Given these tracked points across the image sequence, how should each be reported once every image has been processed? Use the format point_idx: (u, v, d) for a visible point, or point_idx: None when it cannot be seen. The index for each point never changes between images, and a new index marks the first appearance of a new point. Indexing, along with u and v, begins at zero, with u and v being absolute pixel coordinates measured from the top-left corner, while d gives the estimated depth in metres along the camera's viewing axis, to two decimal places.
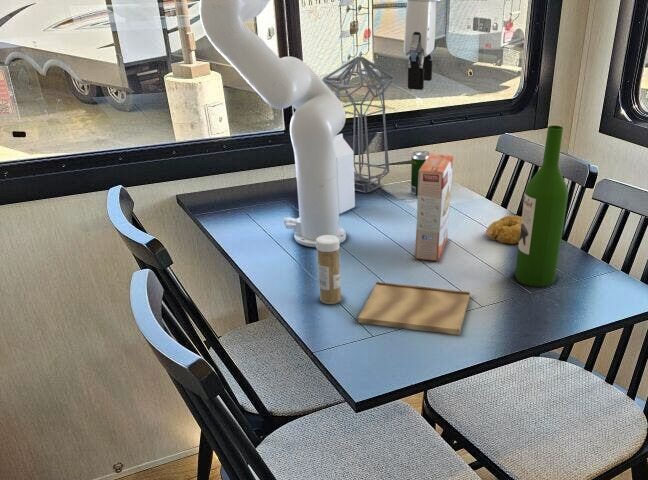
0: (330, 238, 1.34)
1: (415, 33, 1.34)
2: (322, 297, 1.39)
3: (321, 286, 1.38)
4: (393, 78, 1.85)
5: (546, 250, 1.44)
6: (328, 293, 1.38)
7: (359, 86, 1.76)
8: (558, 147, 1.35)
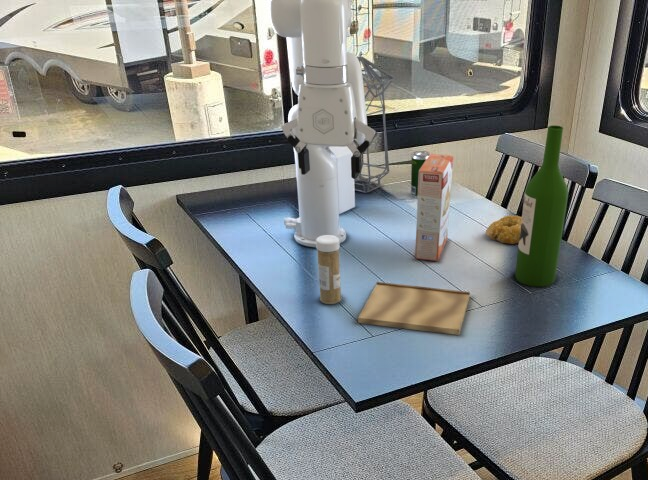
0: (330, 238, 1.34)
1: (354, 119, 1.21)
2: (322, 297, 1.39)
3: (321, 286, 1.38)
4: (393, 78, 1.85)
5: (546, 250, 1.44)
6: (328, 293, 1.38)
7: None
8: (558, 147, 1.35)
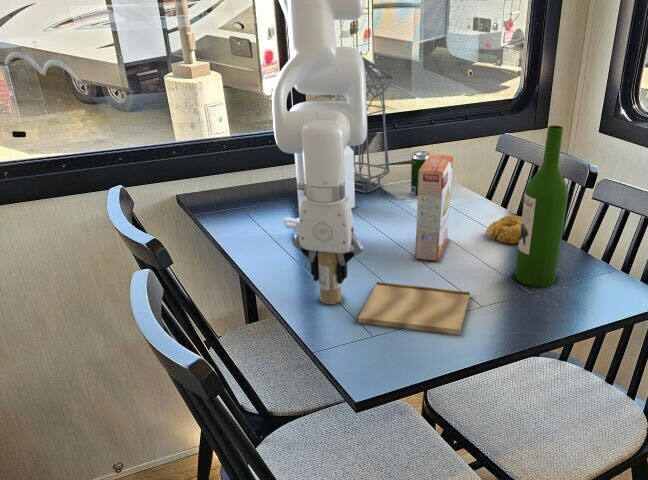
0: None
1: (351, 228, 1.31)
2: (322, 297, 1.39)
3: (321, 286, 1.38)
4: (393, 78, 1.85)
5: (546, 250, 1.44)
6: (328, 293, 1.38)
7: None
8: (558, 147, 1.35)
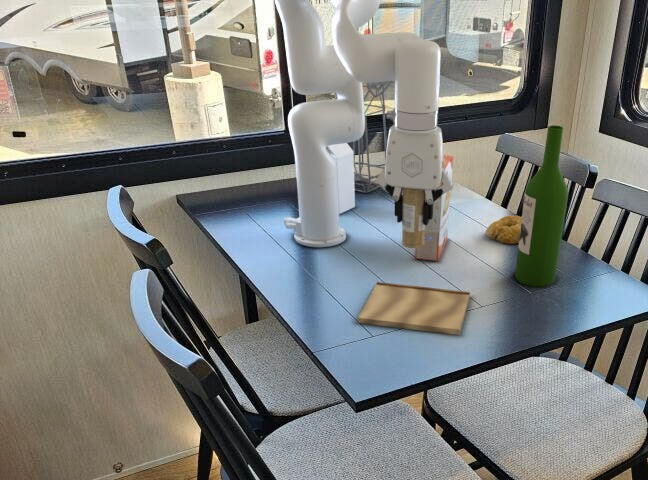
0: None
1: (441, 162, 1.21)
2: (405, 240, 1.29)
3: (405, 228, 1.28)
4: None
5: (546, 250, 1.44)
6: (412, 235, 1.28)
7: None
8: (558, 147, 1.35)
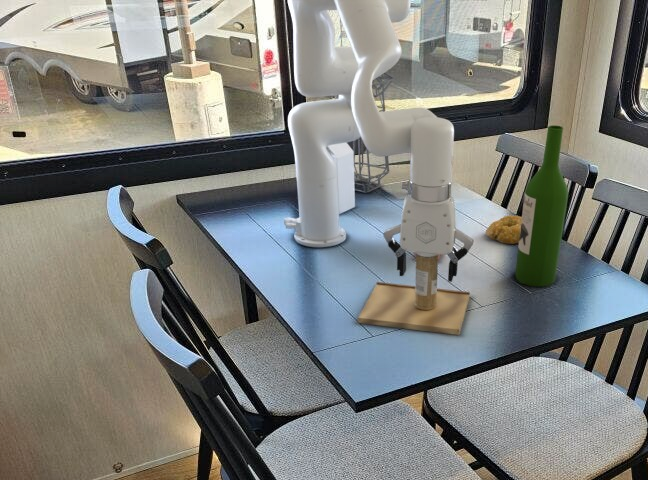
0: None
1: None
2: (418, 303, 1.36)
3: (418, 291, 1.34)
4: (393, 78, 1.85)
5: (546, 250, 1.44)
6: (424, 298, 1.35)
7: None
8: (558, 147, 1.35)
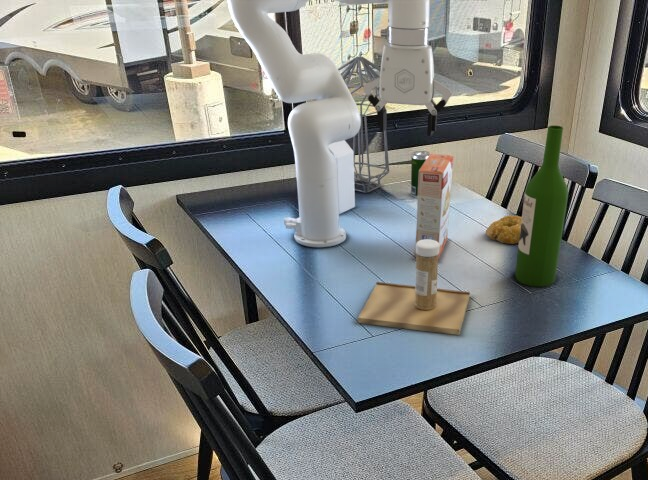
0: (430, 242, 1.31)
1: (432, 79, 1.30)
2: (418, 303, 1.36)
3: (418, 291, 1.34)
4: None
5: (546, 250, 1.44)
6: (424, 298, 1.35)
7: (359, 86, 1.76)
8: (558, 147, 1.35)
